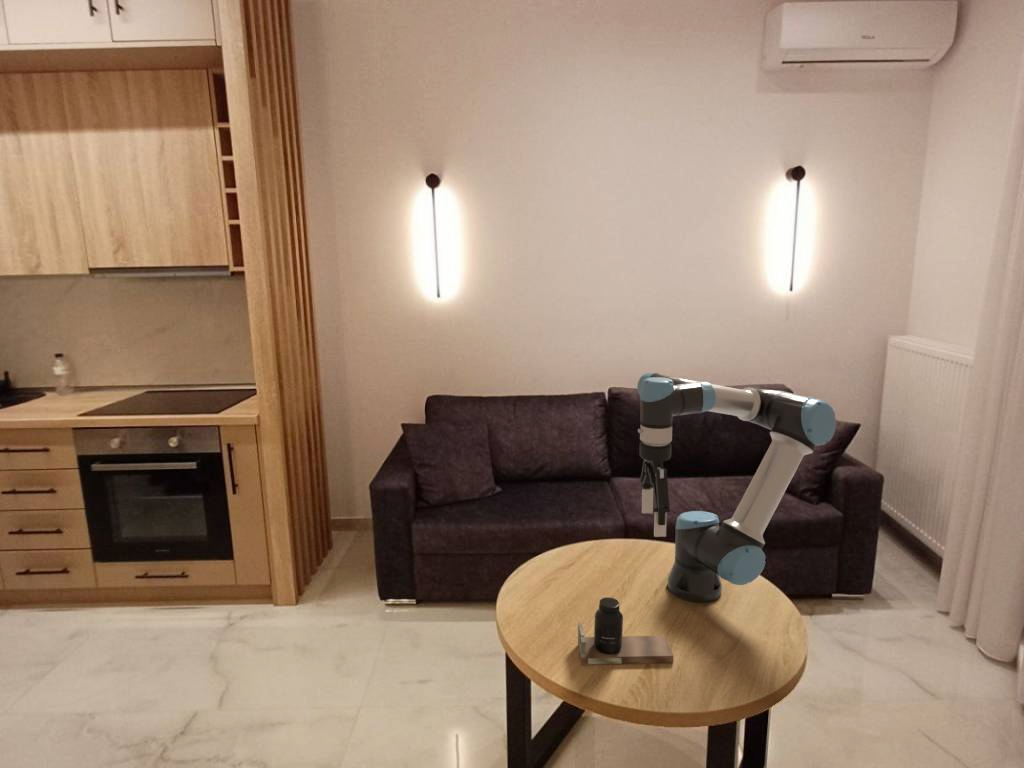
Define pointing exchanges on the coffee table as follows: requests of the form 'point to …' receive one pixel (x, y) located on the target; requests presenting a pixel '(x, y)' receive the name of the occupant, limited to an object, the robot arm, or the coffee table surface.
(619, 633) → the supplement bottle
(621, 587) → the coffee table surface
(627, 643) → the rail flange
